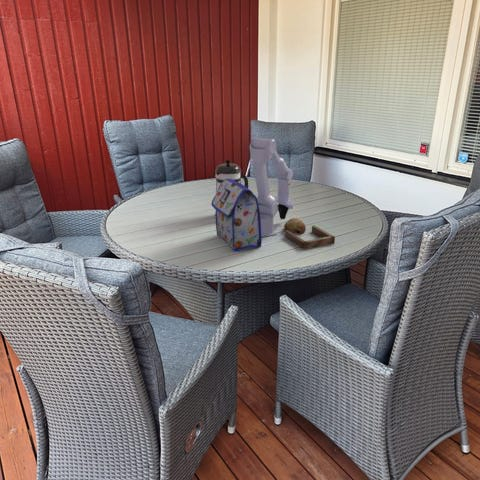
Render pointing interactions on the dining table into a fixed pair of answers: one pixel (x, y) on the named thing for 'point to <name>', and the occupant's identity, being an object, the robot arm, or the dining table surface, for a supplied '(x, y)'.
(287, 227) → the bread roll
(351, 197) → the dining table surface
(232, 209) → the lunch bag
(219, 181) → the coffee press
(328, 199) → the dining table surface
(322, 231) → the roll holder
